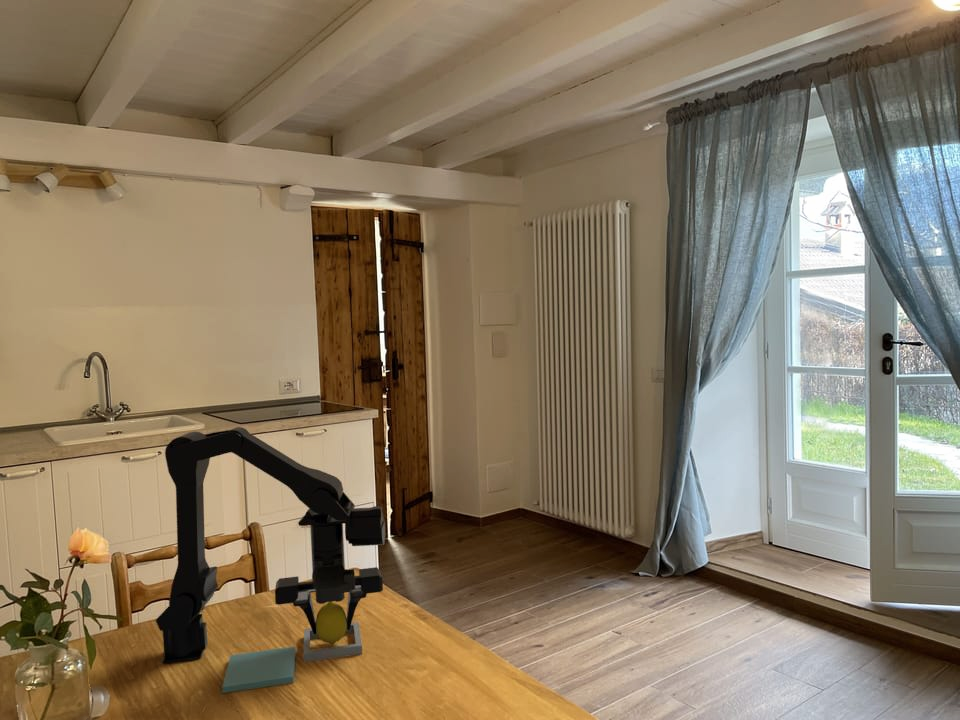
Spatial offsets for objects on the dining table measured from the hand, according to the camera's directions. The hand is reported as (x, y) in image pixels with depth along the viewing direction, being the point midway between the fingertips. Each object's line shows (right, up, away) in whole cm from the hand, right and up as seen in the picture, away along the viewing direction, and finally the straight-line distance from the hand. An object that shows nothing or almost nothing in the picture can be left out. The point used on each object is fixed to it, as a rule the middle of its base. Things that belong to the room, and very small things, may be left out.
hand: (331, 631), depth 125 cm
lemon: (0, -3, 0) cm, 3 cm away
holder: (0, -3, 0) cm, 3 cm away
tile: (-10, -4, -8) cm, 14 cm away
